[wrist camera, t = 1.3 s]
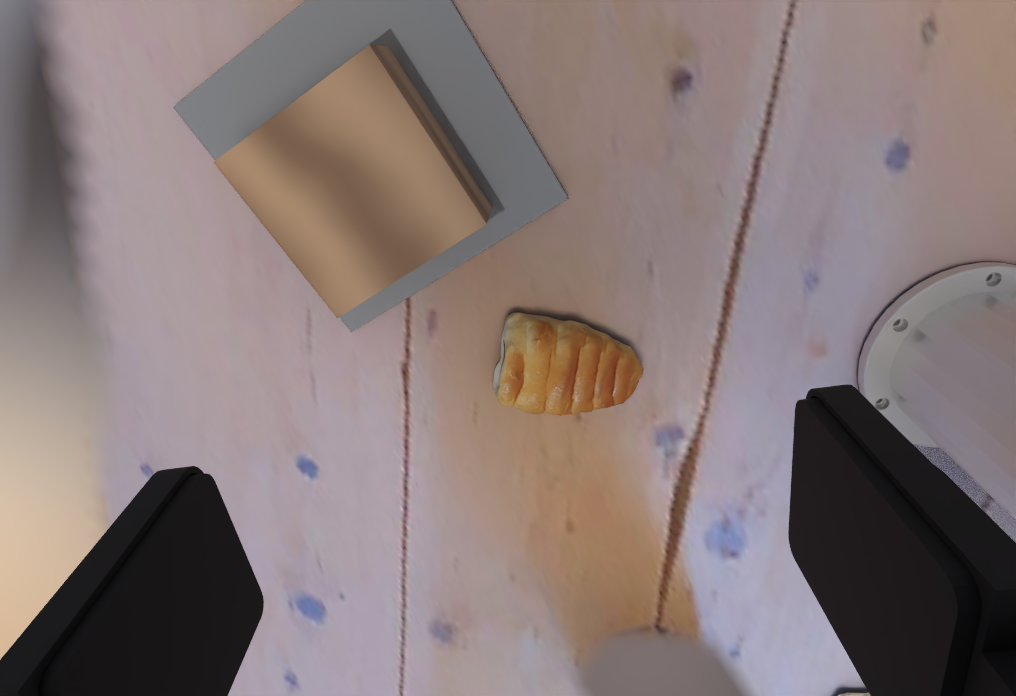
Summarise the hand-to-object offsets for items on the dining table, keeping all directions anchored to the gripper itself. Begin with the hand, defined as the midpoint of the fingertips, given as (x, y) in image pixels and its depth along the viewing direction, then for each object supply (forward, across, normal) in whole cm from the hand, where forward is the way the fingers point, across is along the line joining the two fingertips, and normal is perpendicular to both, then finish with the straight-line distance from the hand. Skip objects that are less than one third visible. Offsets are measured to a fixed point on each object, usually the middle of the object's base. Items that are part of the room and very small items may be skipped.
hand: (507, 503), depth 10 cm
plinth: (+30, +8, -1) cm, 31 cm away
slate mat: (+30, +7, -2) cm, 31 cm away
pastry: (+30, -2, +12) cm, 32 cm away
